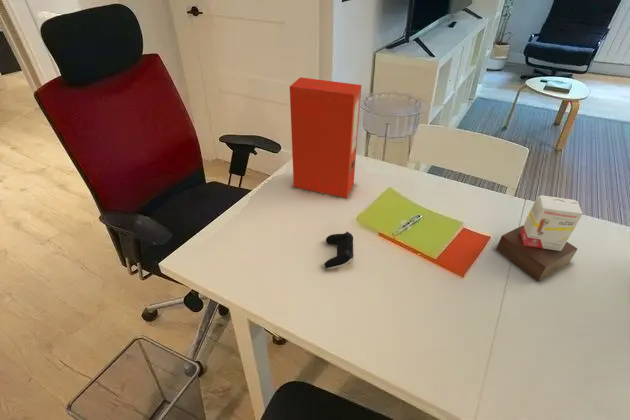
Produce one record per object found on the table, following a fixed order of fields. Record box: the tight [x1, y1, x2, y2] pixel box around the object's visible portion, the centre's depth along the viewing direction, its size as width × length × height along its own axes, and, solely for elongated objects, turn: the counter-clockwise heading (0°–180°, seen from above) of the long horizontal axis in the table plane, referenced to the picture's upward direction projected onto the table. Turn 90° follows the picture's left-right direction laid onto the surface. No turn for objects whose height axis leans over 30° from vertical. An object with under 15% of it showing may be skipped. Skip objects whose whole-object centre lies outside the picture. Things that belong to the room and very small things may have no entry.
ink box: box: [520, 194, 584, 251], centre depth 86 cm, size 9×5×12 cm, turn 76°
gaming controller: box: [323, 231, 355, 270], centre depth 92 cm, size 11×4×7 cm
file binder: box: [289, 77, 362, 199], centre depth 107 cm, size 8×17×32 cm, turn 70°
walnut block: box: [495, 225, 578, 282], centre depth 92 cm, size 12×12×5 cm
